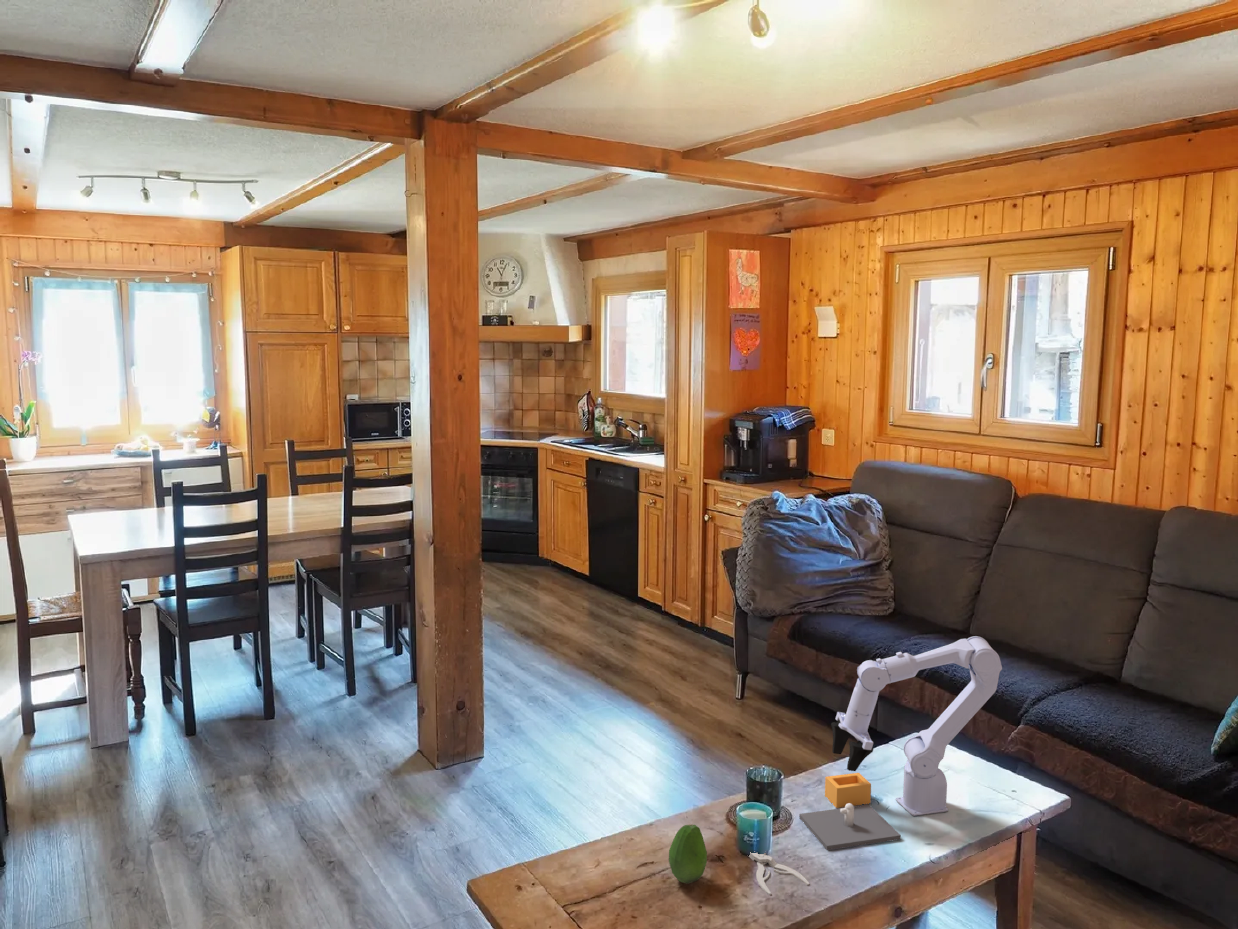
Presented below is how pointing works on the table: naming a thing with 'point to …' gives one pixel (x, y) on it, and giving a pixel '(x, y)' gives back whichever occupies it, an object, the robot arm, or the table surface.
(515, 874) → the table surface
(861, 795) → the orange link
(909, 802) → the robot arm
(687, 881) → the avocado
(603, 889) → the table surface
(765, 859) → the pliers
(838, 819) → the hook board
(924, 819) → the table surface
